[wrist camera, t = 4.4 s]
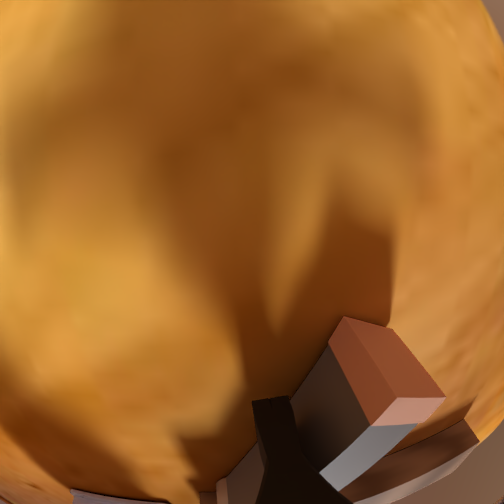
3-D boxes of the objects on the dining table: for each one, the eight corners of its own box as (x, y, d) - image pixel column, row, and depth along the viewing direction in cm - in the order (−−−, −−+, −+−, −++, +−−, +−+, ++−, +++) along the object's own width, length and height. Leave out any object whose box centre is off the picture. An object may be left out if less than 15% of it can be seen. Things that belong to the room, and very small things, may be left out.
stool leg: (251, 492, 15) (259, 539, 11) (210, 489, 14) (213, 539, 11) (395, 329, 11) (449, 397, 7) (339, 314, 10) (391, 397, 6)
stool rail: (214, 512, 17) (218, 558, 12) (186, 472, 14) (186, 541, 9) (441, 451, 19) (461, 485, 14) (481, 390, 15) (513, 430, 11)
